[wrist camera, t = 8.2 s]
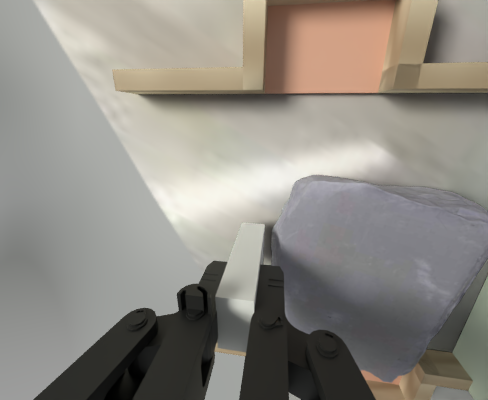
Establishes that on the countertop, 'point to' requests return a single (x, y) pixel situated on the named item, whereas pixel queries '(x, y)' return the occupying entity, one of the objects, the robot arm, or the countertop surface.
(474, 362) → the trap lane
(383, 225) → the stone block
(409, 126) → the countertop surface
